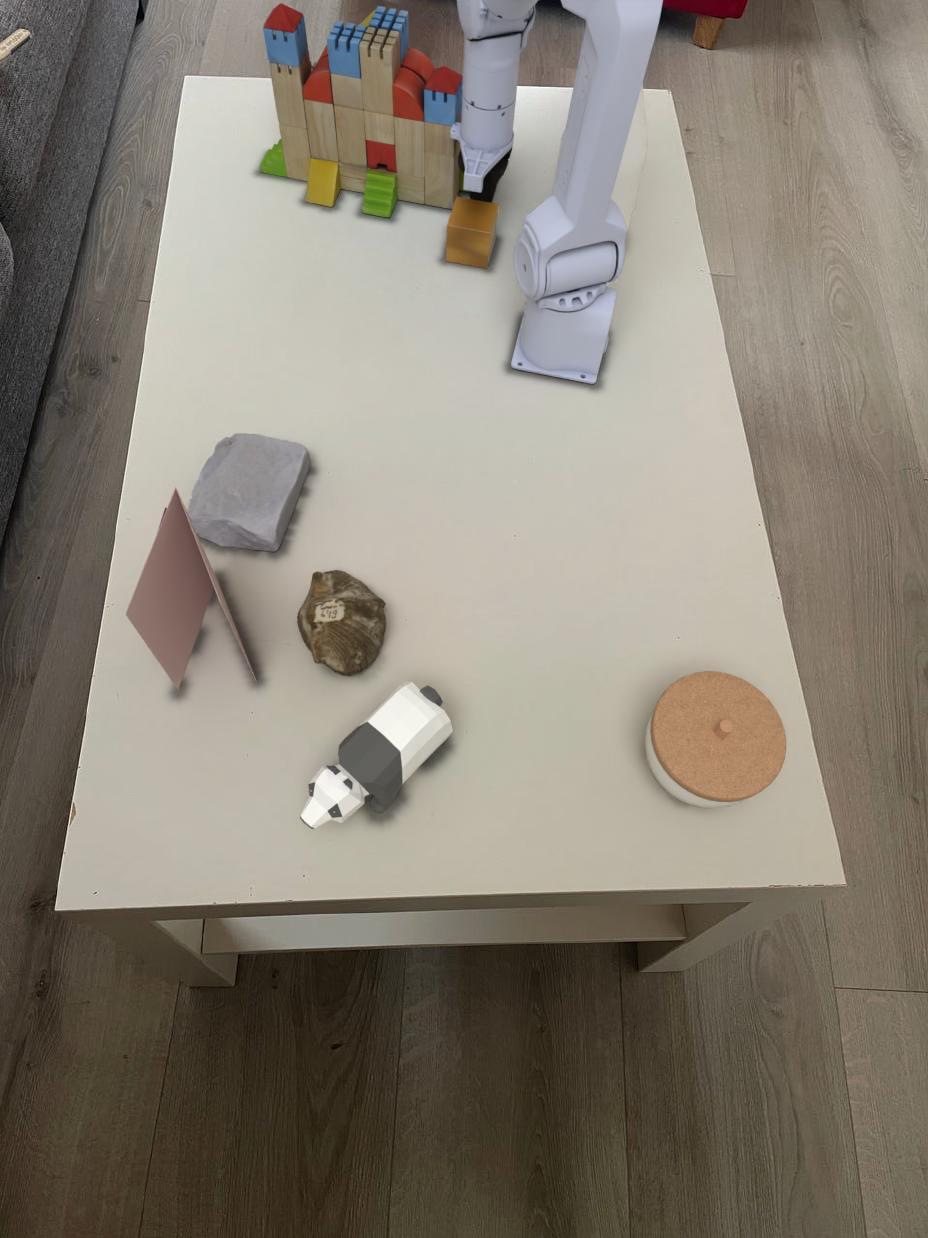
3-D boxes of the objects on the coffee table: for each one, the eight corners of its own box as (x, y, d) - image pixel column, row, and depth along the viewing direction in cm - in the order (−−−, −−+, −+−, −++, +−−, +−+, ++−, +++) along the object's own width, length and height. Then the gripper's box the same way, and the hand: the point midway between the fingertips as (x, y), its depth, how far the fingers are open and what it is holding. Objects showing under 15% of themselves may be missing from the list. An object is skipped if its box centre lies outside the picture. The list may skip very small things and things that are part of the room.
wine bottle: (530, 232, 103) (568, -51, 76) (584, 199, 106) (639, -85, 80) (586, 276, 101) (646, -3, 74) (640, 240, 104) (716, -40, 77)
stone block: (192, 549, 84) (285, 558, 82) (170, 520, 80) (268, 528, 77) (232, 457, 89) (321, 463, 87) (214, 425, 85) (306, 430, 83)
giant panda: (412, 698, 76) (411, 655, 68) (458, 738, 75) (463, 699, 66) (291, 819, 71) (273, 788, 62) (338, 865, 69) (325, 840, 61)
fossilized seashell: (304, 562, 79) (277, 665, 76) (332, 546, 73) (304, 656, 71) (375, 588, 82) (352, 688, 80) (407, 575, 77) (383, 681, 74)
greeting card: (207, 577, 81) (164, 485, 67) (284, 591, 80) (256, 500, 67) (168, 688, 76) (113, 612, 62) (250, 703, 75) (212, 629, 62)
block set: (498, 161, 109) (512, -4, 92) (473, 235, 103) (483, 72, 85) (286, 121, 111) (261, -49, 93) (249, 191, 104) (215, 23, 87)
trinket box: (622, 707, 77) (646, 666, 68) (738, 700, 77) (776, 658, 69) (643, 827, 72) (672, 799, 63) (766, 817, 73) (811, 788, 64)
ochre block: (495, 240, 103) (498, 203, 98) (487, 268, 100) (490, 232, 96) (455, 232, 103) (456, 195, 98) (445, 261, 101) (446, 224, 96)
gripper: (466, 47, 94) (462, 161, 106) (437, 129, 87) (435, 240, 100) (529, 58, 93) (517, 172, 106) (504, 141, 87) (494, 251, 99)
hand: (481, 206), depth 102 cm, fingers closed
